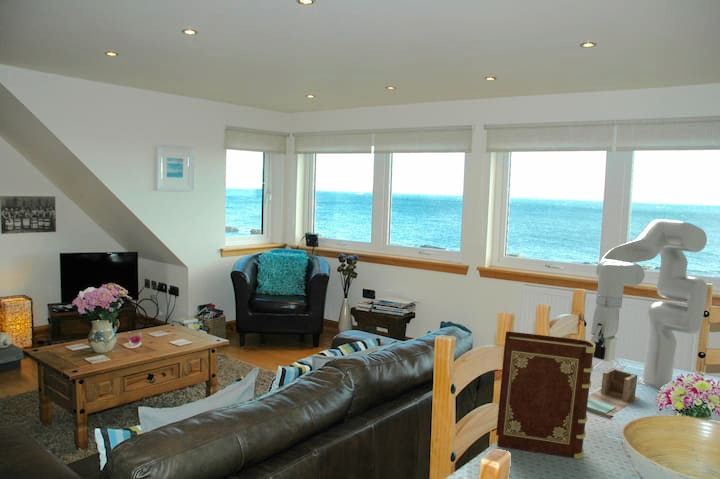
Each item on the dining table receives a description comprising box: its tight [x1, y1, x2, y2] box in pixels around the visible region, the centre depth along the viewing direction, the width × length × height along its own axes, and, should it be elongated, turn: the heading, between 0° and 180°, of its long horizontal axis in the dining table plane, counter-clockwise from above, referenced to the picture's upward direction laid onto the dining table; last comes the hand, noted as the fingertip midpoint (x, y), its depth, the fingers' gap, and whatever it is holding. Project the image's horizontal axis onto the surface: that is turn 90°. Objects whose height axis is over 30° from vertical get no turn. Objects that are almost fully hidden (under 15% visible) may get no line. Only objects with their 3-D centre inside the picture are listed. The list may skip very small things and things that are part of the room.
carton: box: [590, 334, 618, 362], centre depth 177 cm, size 6×5×7 cm
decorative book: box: [495, 331, 595, 460], centre depth 148 cm, size 22×8×30 cm, turn 78°
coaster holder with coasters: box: [587, 367, 641, 419], centre depth 184 cm, size 25×12×8 cm, turn 134°
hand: (602, 356), depth 177 cm, fingers closed on carton, 5 cm apart
